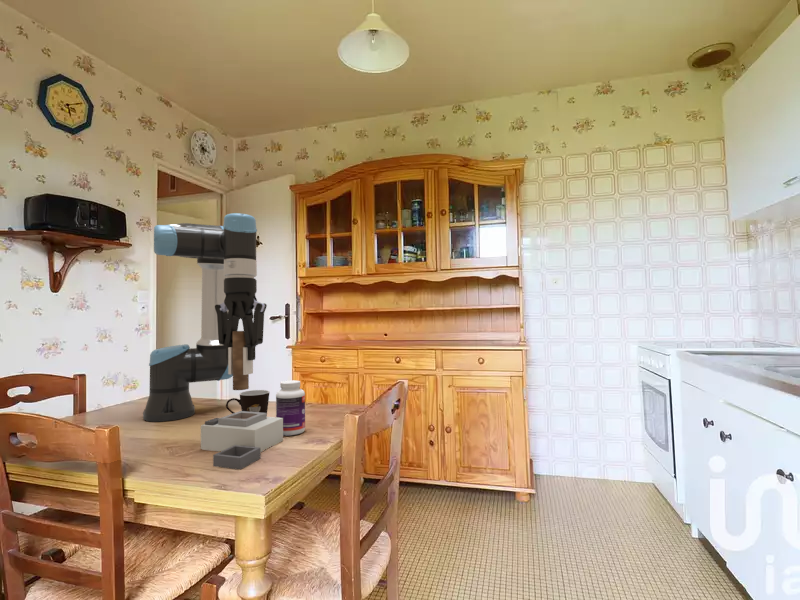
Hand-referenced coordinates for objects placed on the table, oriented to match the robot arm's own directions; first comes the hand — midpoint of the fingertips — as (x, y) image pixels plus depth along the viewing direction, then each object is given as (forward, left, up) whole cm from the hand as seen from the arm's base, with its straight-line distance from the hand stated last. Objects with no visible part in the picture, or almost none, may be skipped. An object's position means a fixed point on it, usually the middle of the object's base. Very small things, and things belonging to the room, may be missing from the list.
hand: (240, 373), depth 101 cm
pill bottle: (+2, +19, -20) cm, 28 cm away
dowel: (0, 0, -4) cm, 4 cm away
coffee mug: (-14, +22, -20) cm, 33 cm away
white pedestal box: (-4, +6, -19) cm, 21 cm away
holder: (+3, -5, -19) cm, 20 cm away
